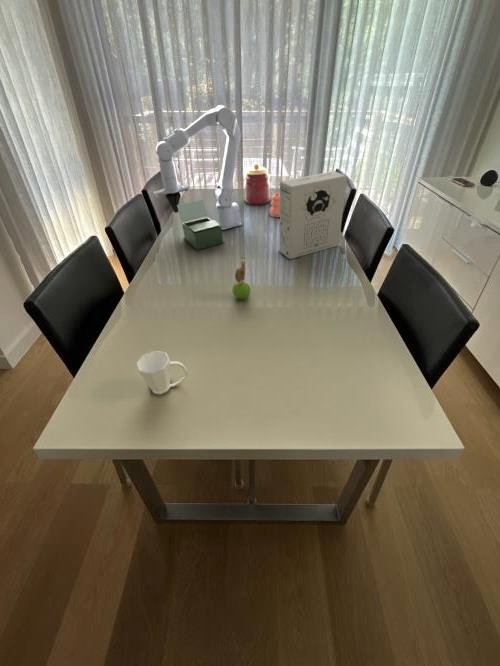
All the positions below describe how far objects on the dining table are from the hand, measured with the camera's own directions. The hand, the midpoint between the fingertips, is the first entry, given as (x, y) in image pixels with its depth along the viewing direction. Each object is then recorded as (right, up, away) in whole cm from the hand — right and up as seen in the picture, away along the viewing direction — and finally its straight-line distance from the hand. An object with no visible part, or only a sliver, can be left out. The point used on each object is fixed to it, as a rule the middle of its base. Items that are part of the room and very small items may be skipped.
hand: (175, 211), depth 140 cm
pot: (+10, -11, -1) cm, 15 cm away
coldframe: (+12, -13, -2) cm, 17 cm away
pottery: (+49, +5, +17) cm, 52 cm away
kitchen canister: (+35, +17, +33) cm, 51 cm away
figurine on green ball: (+29, -39, -36) cm, 61 cm away
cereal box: (+53, -19, -13) cm, 58 cm away
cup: (+12, -63, -64) cm, 90 cm away
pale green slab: (+7, -1, -3) cm, 8 cm away
